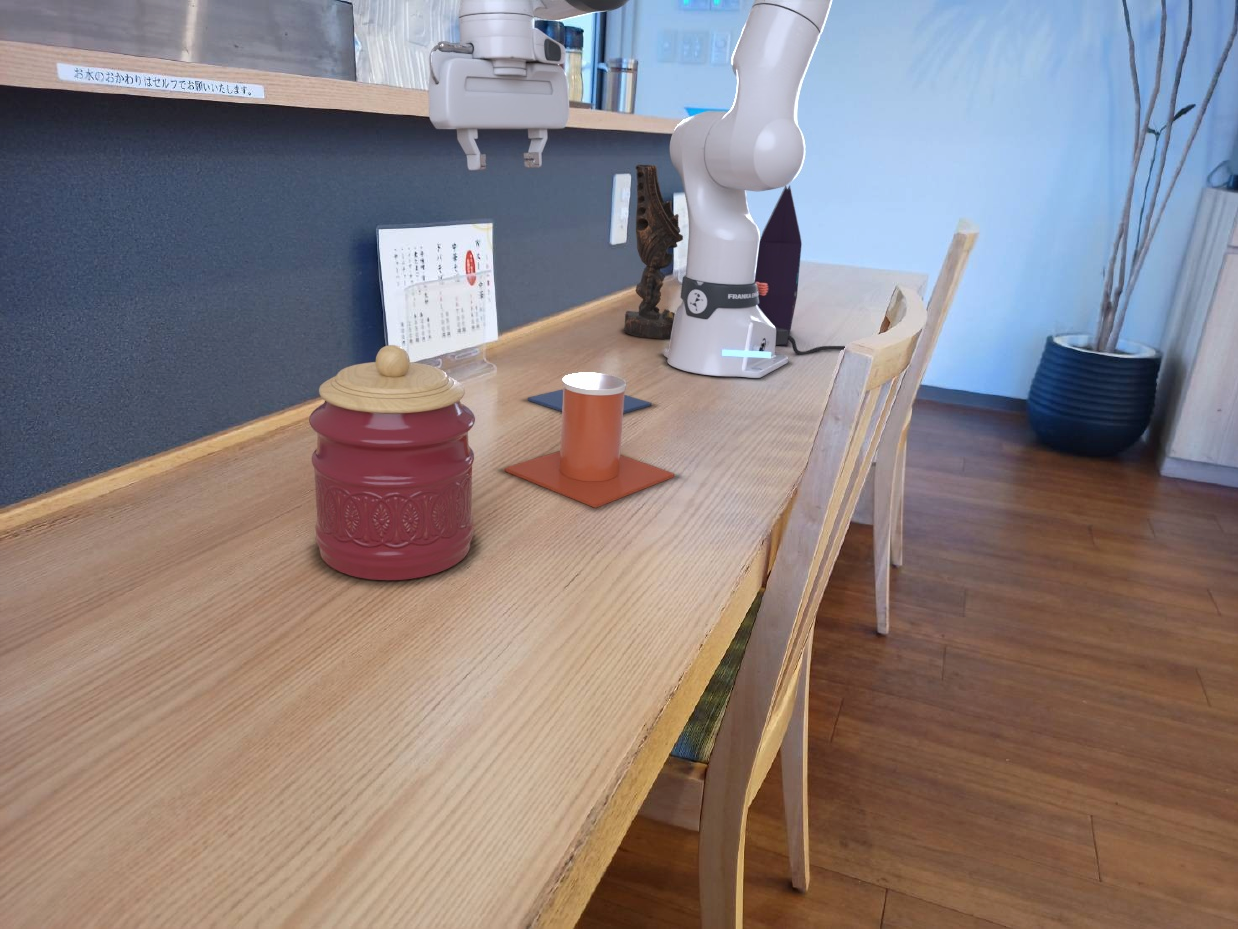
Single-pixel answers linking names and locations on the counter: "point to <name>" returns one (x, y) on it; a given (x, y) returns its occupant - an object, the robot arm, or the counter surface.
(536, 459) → the terracotta mat
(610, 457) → the tumbler
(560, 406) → the blue mat
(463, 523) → the kitchen canister
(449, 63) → the robot arm
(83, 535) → the counter surface
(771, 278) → the dark pointed faceted spire
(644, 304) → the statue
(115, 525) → the counter surface
